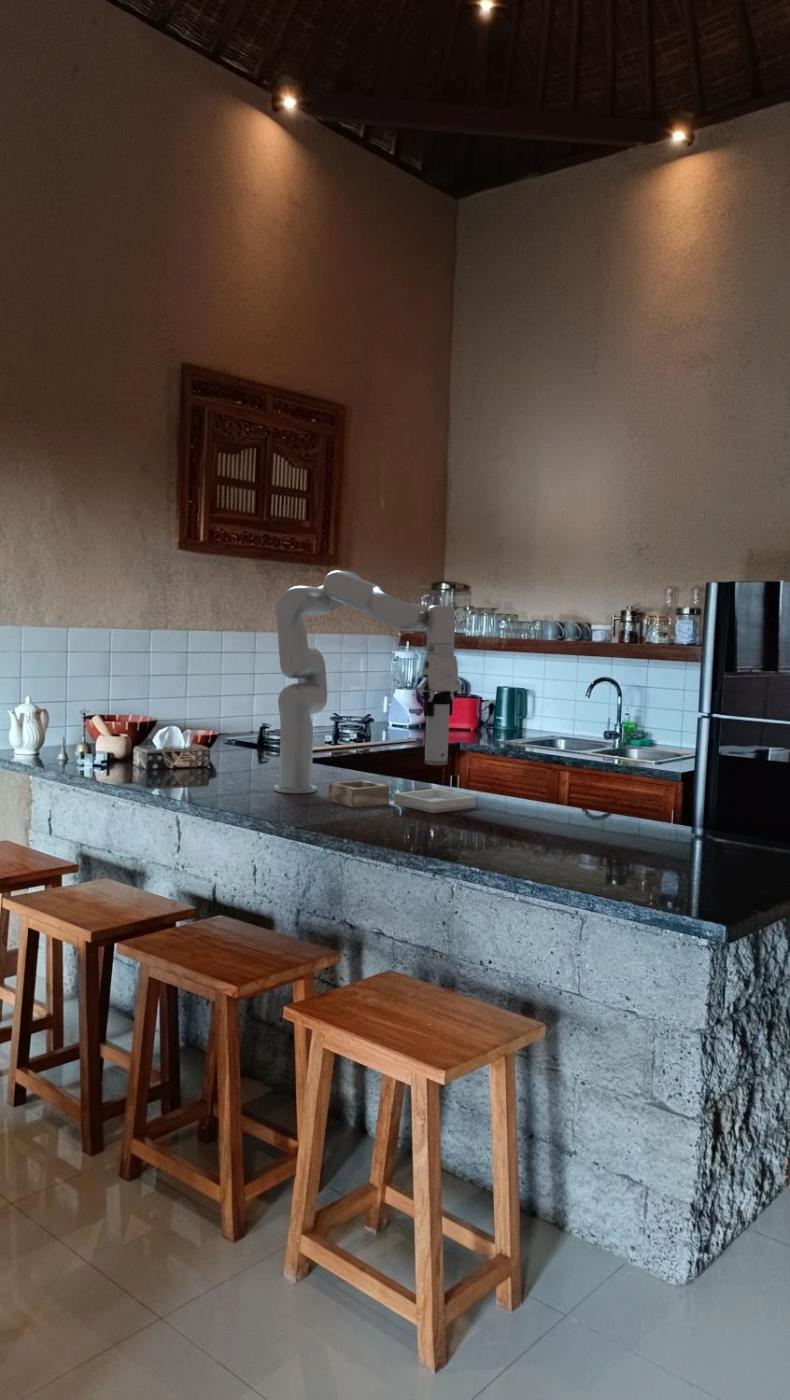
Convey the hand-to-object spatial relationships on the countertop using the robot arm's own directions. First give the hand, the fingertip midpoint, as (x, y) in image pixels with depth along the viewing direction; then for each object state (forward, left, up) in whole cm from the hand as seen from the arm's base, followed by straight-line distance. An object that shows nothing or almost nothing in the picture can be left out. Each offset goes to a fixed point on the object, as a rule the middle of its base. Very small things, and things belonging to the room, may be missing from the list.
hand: (438, 714), depth 280 cm
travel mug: (0, 0, -14) cm, 14 cm away
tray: (0, 0, -25) cm, 25 cm away
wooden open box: (-15, -15, -25) cm, 33 cm away
